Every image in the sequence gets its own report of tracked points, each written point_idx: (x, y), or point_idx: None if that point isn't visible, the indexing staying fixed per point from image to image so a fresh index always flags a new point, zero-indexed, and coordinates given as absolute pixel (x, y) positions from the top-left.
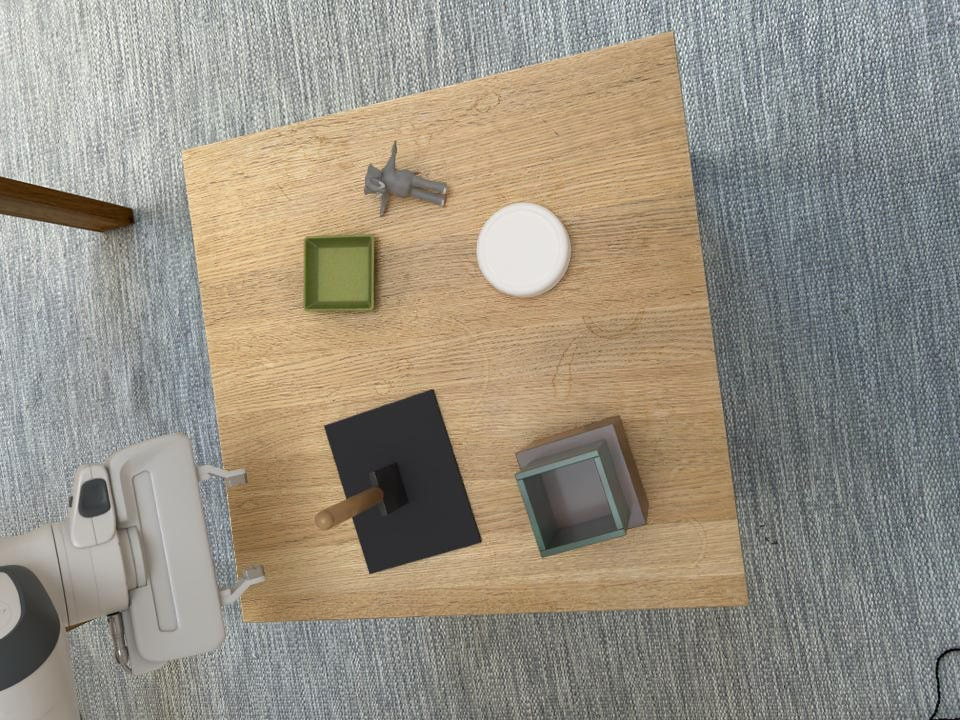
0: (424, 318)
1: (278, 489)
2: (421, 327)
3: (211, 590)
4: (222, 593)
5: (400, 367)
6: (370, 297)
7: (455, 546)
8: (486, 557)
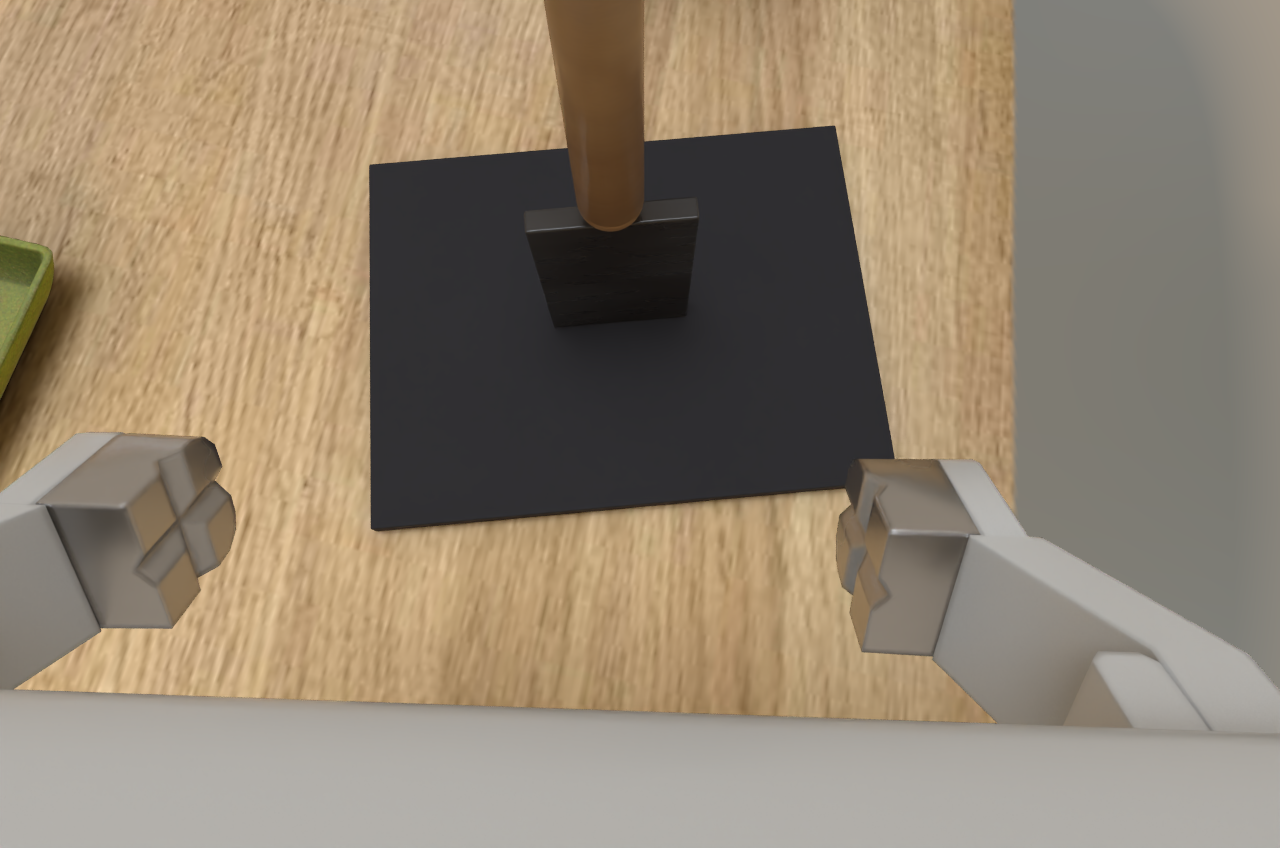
0: (171, 156)
1: None
2: (192, 169)
3: (1192, 781)
4: (1164, 727)
5: (280, 251)
6: (23, 264)
7: (837, 194)
8: (878, 133)
